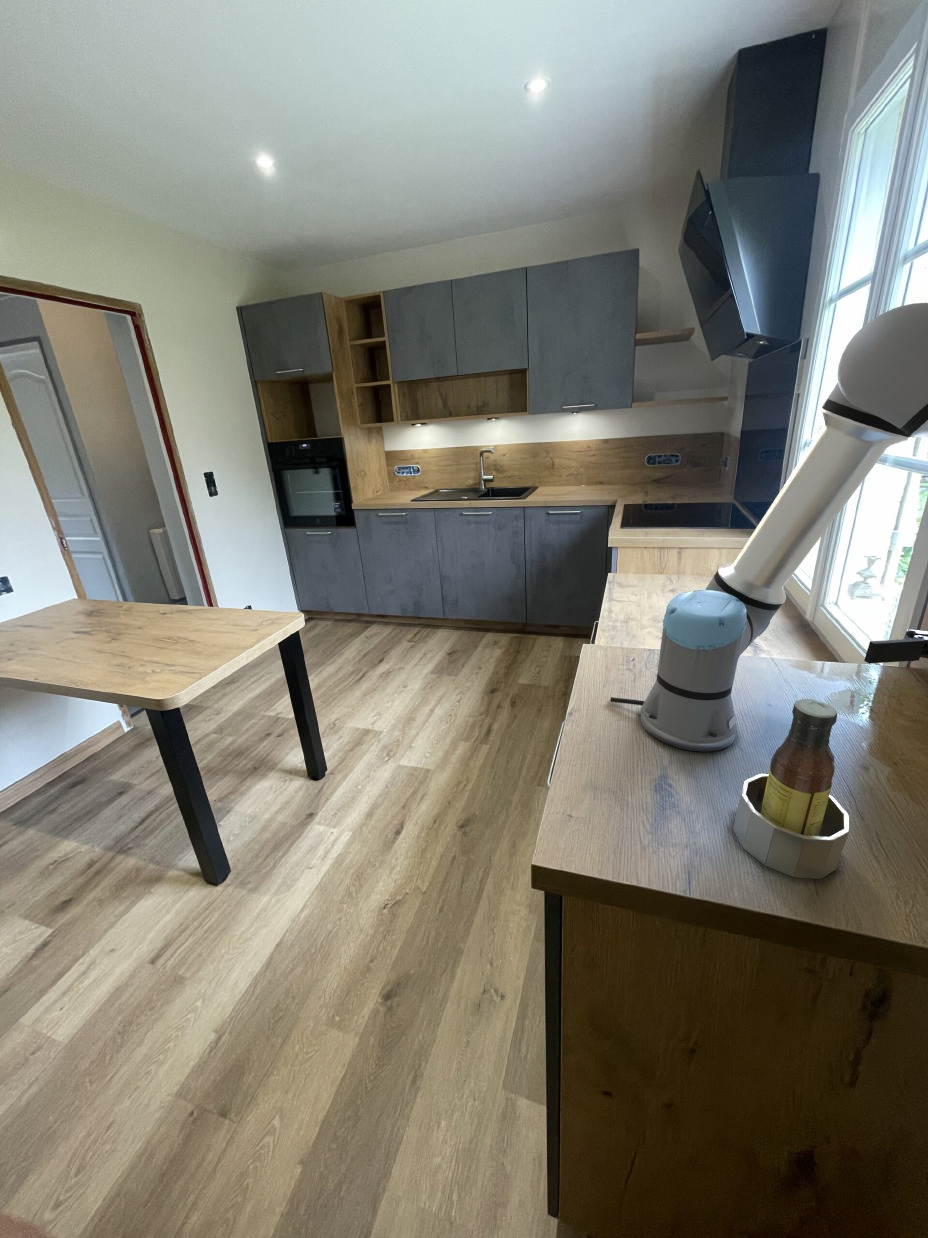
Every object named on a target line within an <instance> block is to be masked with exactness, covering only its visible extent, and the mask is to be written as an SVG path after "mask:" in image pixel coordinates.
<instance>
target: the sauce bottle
mask: <svg viewBox="0 0 928 1238" xmlns="http://www.w3.org/2000/svg"><path fill="white" fill-rule="evenodd" d="M791 712H792V713H791V714H792V721H791V725H790V728H789V730H788V734H787V736H786V737H785V739H784V741H783V742H782V744H781V745H780V746H779V747H778V748H777V749H776V751H775V752H774V753H773V755H772V758H771V760H770V765H769V769H768V773H767V774H768V779H767V784H766V789H765V794H764V799H763V804H762V808H761V812H759V813H760V814H761V815H763V816H764V817H765V818H767V819H768V820H770V821H771V822H772V823H774V824H775V825H777V826H779V827H782V828H785V829H788V830H790V831H793V832H796V833H798V834H801V835H804V836H819V834H820V830H821V826H822V822H823V818H824V814H825V810H826V806H827V802H828V798H829V795H830V794H831V790H832V787H833V778H834V774H835V769H836V768H835V756H834V754H833V751H832V749H831V747H830V745H829V744H830V737H831V732H832V729H833V726H834V725H835V724H836V723H837V719H838V711H837V708H835V707H834V706H832V705H831V704H829V703H826V702H824V701H821V700H817V699H812V698H801V699H798V700H796V701H795V702H794V703H793V707H792V711H791ZM830 796H831V795H830Z"/></svg>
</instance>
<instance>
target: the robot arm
mask: <svg viewBox="0 0 928 1238" xmlns="http://www.w3.org/2000/svg"><path fill="white" fill-rule="evenodd" d="M836 375H837V382H836V384H835V386H834V387H833V389H832V391H831V392H830V394H829V395H828V397H827V399H826V400H825V402H824V403H823V405H822V406H821V408H820V410H819V411H820V415H821V418H822V422H823V423H822V427H821V428H820V430H819V431H818V433H817V434H816V436H815V437H814V439H813V441H812V442H811V443H810V445H809V447H808V448H807V450H806V451H805V453H804V454H803V456H802V457H801V459H800V460H799V462H798V463H797V465H796V467H795V468H794V470H793V471H792V472H791V474H790V476H789V477H788V478H787V480H786V482H785V483H784V485H783V487H782V488H781V489H780V491H779V493H778V494H777V495H776V497H775V499H774V500H773V501H772V503H771V505H770V506H769V508H768V509H767V510H766V512H765V514H764V516H763V517H762V518H761V520H760V521H759V523H758V525H757V526H756V527H755V529H754V530H753V532H752V534H751V535H750V537H749V538H748V540H747V541H746V542H745V544H744V546H742V549H741V550H740V552H739V553H738V555H737V557H736V558H735V560H734V561H733V562H730V563H726V564H722V565H720V566H719V567H718V568H717V570H716V572H715V573H714V575H713V577H712V578H711V580H710V581H709V583H708V584H707V586H706V587H705V589H696V590H693V591H685V592H682V593H679V594H676V595H675V596H674V597H673V598H672V599H670V601H669V602H668V603H667V606H666V609H665V613H664V614H663V615H664V616H663V618H662V619H663V620H662V633H661V640H660V649H659V656H658V664H657V673H656V679H655V682H654V684H653V686H652V687H651V689H650V691H649V692H648V694H647V696H646V698H645V700H639V699H631V698H622V697H610V702H611V703H618V704H627V705H635V706H640V707H641V712H640V722H641V725H642V726H643V728H644V729H645V730H646V732H648V733H649V734H650V735H651V736H652V737H654V738H655V739H656V740H659V741H660V742H662V743H664V744H667V745H670V746H672V747H675V748H678V749H682V750H687V751H693V752H717V751H720V750H721V751H722V750H723V749H726V748H728V747H730V746H731V745H732V744H733V743H734V741H735V739H736V734H737V729H738V724H737V722H738V720H737V715H736V714H735V709H734V703H733V698H732V690H733V685H734V681H735V677H736V671H737V666H738V663H739V659H740V657H741V655H742V654H743V653H744V652H745V651H746V650H747V649H748V648H749V647H750V646H751V644H752V643H753V642H754V641H755V640H757V638H758V637H760V636H761V635H762V634H763V633H764V632H765V631H766V630H767V628H768V627H769V625H770V624H771V620H772V619H773V618H774V616H775V615H776V613H778V611H779V609H781V607H782V606H783V604H784V603H785V602H786V600H787V595H786V591H785V589H784V586H785V585H786V584H787V583H788V581H789V580H790V579H791V577H792V576H793V575H794V574H795V572H796V570H797V569H798V568H799V567H800V565H801V564H802V563H803V562H804V560H805V558H807V556H808V555H809V553H810V552H811V550H812V549H813V548H814V547H815V546H816V544H817V543H818V541H819V540H820V539H821V537H822V536H823V535H824V533H825V532H826V531H827V529H828V528H829V526H830V525H831V524H832V523H833V521H834V520H835V519H836V517H837V516H838V515H839V513H840V512H841V511H842V509H843V508H844V507H845V506H846V504H847V503H848V501H849V500H850V499H851V497H852V496H853V495H854V493H855V492H856V491H857V489H858V488H859V487H860V486H861V484H862V483H863V481H864V480H865V479H866V478H867V476H868V475H869V474H870V472H871V471H872V469H873V468H874V467H875V465H876V464H877V463H878V461H879V460H881V458H882V457H883V455H884V453H885V452H886V451H887V449H889V448H891V447H892V446H895V445H897V444H900V443H904V442H906V441H910V440H911V438H925V437H928V302H916V303H915V302H914V303H909V304H905V305H899V306H897V307H894V308H891V309H889V310H887V311H885V312H883V313H881V314H879V315H877V316H876V317H875V318H873V319H872V320H869V322H867V323H866V324H865V325H864V326H863V327H861V328H860V329H859V330H858V331H857V332H856V333H855V334H854V336H853V337H851V339H850V341H849V342H848V343H847V344H846V346H845V349H844V350H843V351H842V354H841V356H840V359H839V362H838V367H837V374H836ZM921 658H922V659H923V658H924V659H928V631H926V630H918V629H917V630H916V629H906V630H905V633H904V636H903V639H902V638H901V639H886V640H885V639H884V640H870V641H869V644H868V647H867V650H866V653H865V656H864V660H863V661H864V662H865V663H867V664H883V663H885V664H886V663H887V664H888V663H900V662H903V663H904V662H917V661H920V659H921Z"/></svg>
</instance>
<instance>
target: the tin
mask: <svg viewBox="0 0 928 1238" xmlns="http://www.w3.org/2000/svg"><path fill="white" fill-rule="evenodd" d="M768 774H769V773H758V774H756V775H754V776H752V777H750V778H747V779H744V781H743V785H742V788H741V791H740V792H741V793H740V797H739V801H738V804H737V805H738V806H737V810H736V813H735V814H736V815H735V818H734V823H733V827H732V830H733V833H734V834H735V836H736V839H737V841H738V842H739V844H740V845H741V847H742V848H743V849H744V850H745V851H746V852H747V853H748V854H750V855H751V857H754V859H756V860H757V861H758V862H759V863H761V864H762V865H763V866H765V867H768V868H770V869H772V870H775V871H777V872H779V873H782V874H784V875H787V876H790V877H792V878H797V879H798V878H799V879H813V880H814V879H815V880H821V879H823V878H825V877H826V876H828V875H830V874H831V873H833V872H834V871H836V870H837V868H838V865H839V863H840V859H841V856H842V854H843V851H844V848H845V845H846V842H847V839H848V837H849V833H850V815H849V813H848V812H847V811H846V810H845V809H844V808H843V806H842V805H841V804H840V803H839V802H838V800H836V798H835V797H834V796H832V795H829V798H828V802H827V806H826V810H825V814H824V818H823V822H822V826H821V830H820V834H819V836H804V835H801V834H798V833H796V832H793V831H790V830H788V829H785V828H782V827H779V826H777V825H775V824H774V823H772V822H771V821H770V820H768V819H767V818H765V817H764V816H763V815H761V814H760V813H761V808H762V804H763V799H764V794H765V789H766V784H767V779H768Z"/></svg>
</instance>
